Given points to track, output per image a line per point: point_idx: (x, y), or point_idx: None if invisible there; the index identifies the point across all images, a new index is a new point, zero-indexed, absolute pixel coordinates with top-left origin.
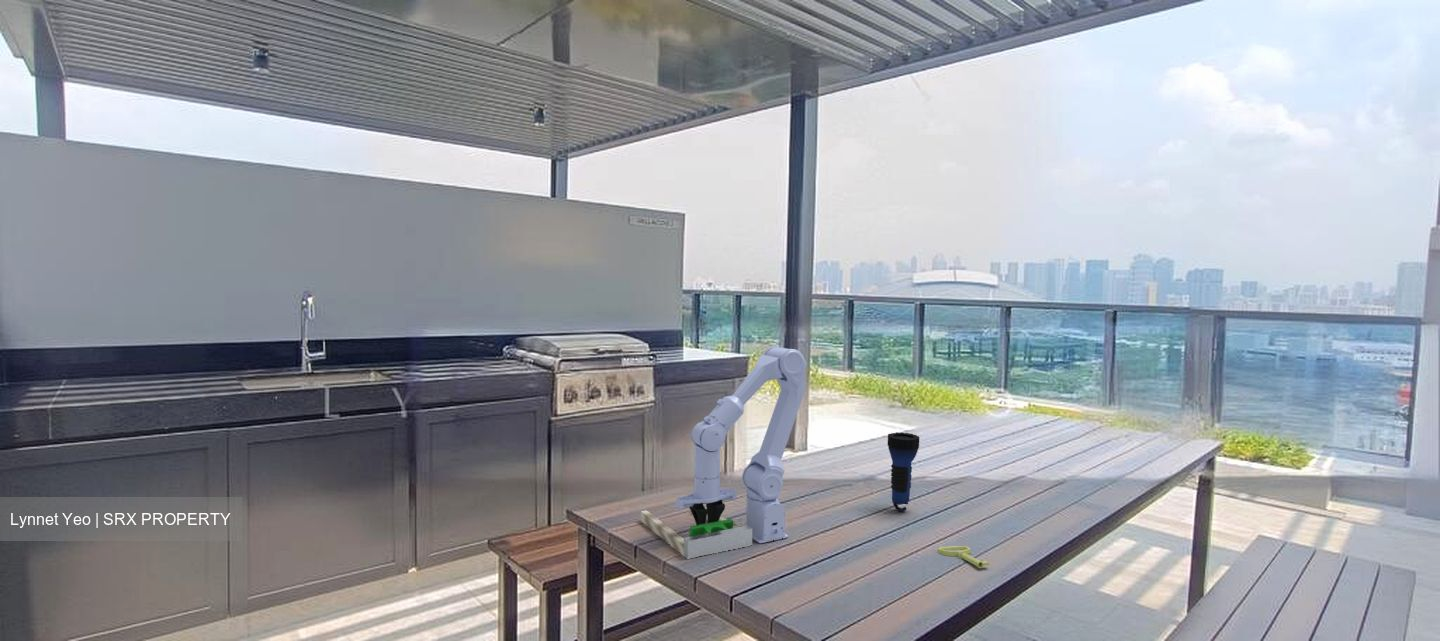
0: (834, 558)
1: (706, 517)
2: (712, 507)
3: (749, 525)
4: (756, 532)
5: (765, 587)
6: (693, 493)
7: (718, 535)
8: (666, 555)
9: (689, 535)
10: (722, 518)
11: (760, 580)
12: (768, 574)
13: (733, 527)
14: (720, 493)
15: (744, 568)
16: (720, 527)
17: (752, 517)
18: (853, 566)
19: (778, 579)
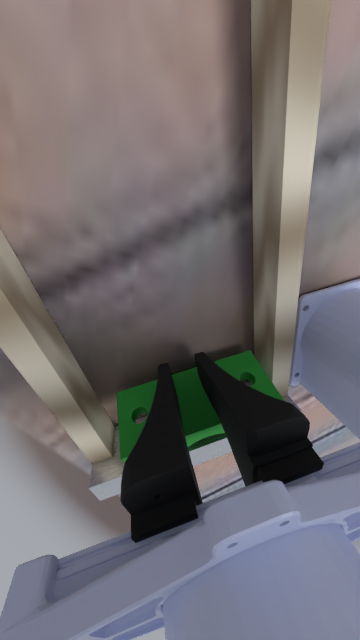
0: (344, 430)
1: (261, 142)
2: (244, 467)
3: (320, 358)
4: (312, 369)
5: (208, 500)
6: (170, 588)
7: (196, 462)
8: (46, 428)
9: (118, 419)
10: (290, 278)
11: (211, 488)
12: (231, 474)
13: (274, 364)
14: (351, 523)
15: (206, 464)
16: (223, 432)
17: (347, 385)
18: (342, 448)
19: (235, 483)
